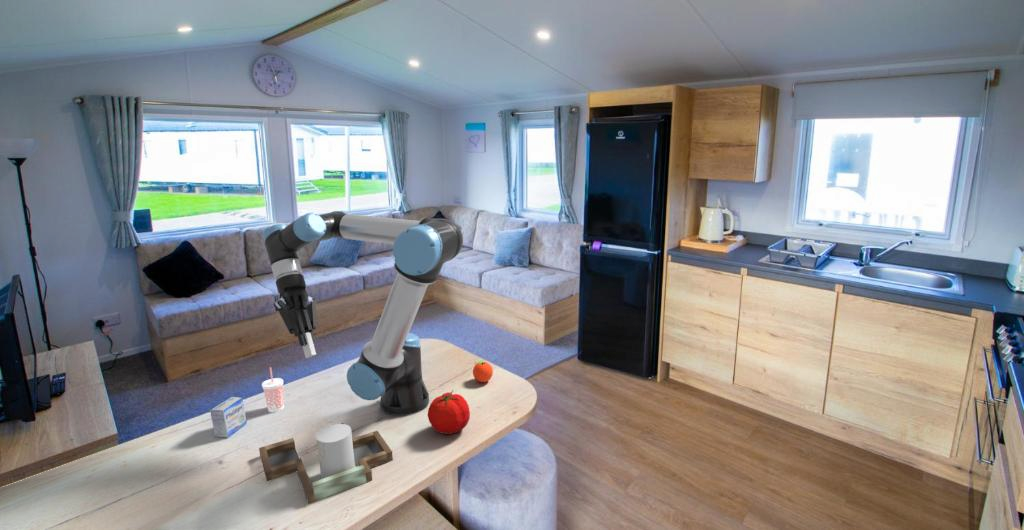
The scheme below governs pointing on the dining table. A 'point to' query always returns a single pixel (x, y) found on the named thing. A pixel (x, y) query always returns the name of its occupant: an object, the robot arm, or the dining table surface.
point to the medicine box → (228, 417)
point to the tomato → (448, 413)
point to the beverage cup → (274, 393)
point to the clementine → (482, 371)
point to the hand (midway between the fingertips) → (311, 356)
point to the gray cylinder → (335, 449)
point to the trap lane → (366, 455)
